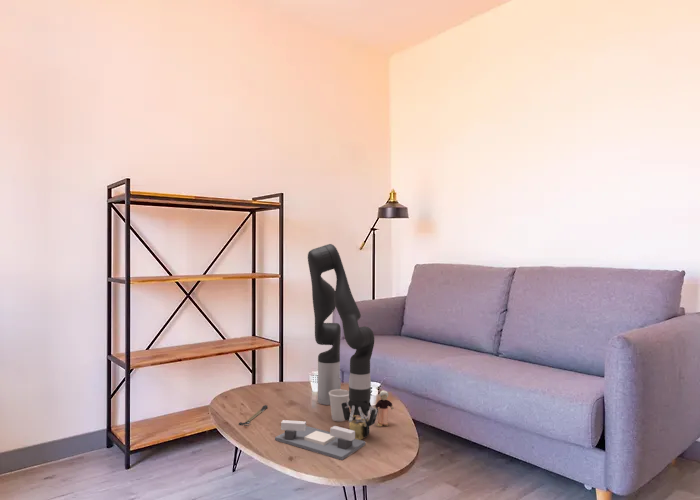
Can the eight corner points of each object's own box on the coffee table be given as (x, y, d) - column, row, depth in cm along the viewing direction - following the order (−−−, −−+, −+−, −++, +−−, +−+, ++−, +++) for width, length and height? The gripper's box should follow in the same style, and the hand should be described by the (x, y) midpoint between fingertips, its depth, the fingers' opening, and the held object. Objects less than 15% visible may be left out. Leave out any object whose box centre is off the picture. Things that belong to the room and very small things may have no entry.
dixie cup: (325, 416, 181) (326, 390, 181) (346, 414, 184) (346, 388, 184) (331, 423, 173) (332, 396, 173) (353, 421, 176) (353, 394, 176)
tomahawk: (254, 430, 169) (254, 426, 169) (237, 426, 171) (238, 423, 171) (278, 410, 190) (278, 407, 189) (263, 407, 191) (263, 404, 191)
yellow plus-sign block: (358, 431, 166) (358, 416, 166) (369, 434, 163) (369, 419, 163) (349, 437, 161) (349, 421, 161) (360, 440, 158) (360, 424, 158)
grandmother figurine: (377, 428, 169) (377, 393, 169) (372, 424, 173) (372, 390, 173) (395, 424, 173) (395, 390, 173) (389, 421, 176) (390, 387, 176)
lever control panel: (275, 440, 158) (275, 421, 158) (301, 427, 169) (301, 410, 169) (341, 460, 143) (342, 439, 143) (365, 444, 155) (365, 425, 155)
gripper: (383, 386, 161) (382, 436, 161) (348, 379, 169) (347, 427, 169) (372, 391, 155) (371, 443, 155) (336, 384, 163) (336, 433, 163)
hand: (359, 434), depth 162 cm, fingers closed on yellow plus-sign block, 4 cm apart
